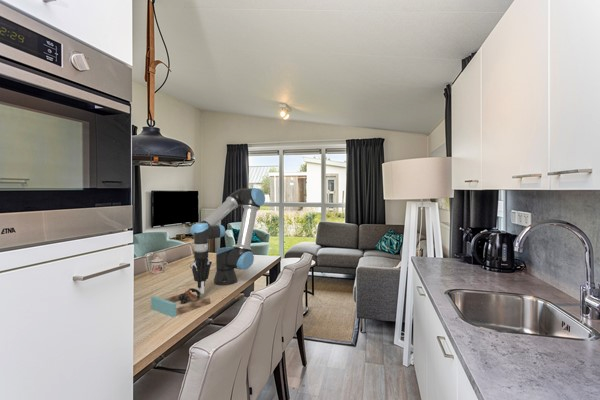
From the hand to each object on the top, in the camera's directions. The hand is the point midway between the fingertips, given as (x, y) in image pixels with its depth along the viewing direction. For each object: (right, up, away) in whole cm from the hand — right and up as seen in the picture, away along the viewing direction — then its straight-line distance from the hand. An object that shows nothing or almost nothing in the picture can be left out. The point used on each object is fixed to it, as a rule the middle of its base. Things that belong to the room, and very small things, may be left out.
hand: (201, 292), depth 170 cm
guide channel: (-7, -4, -9) cm, 12 cm away
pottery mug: (-5, -4, -5) cm, 8 cm away
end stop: (-13, -4, -18) cm, 23 cm away
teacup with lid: (-51, -3, +60) cm, 79 cm away
